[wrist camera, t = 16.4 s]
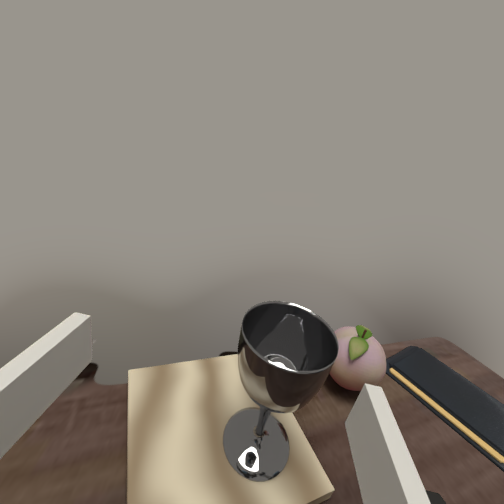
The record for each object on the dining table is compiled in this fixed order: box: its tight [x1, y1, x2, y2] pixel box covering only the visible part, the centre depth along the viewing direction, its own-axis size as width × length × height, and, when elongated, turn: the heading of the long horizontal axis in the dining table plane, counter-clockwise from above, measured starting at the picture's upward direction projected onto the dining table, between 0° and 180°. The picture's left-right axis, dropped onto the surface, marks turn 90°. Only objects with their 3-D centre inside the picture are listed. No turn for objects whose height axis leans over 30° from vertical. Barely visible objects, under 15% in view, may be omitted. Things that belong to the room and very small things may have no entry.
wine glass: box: [223, 301, 339, 482], centre depth 24 cm, size 8×8×15 cm
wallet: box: [386, 346, 504, 472], centre depth 42 cm, size 20×2×15 cm
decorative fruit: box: [330, 325, 386, 391], centre depth 38 cm, size 9×8×10 cm
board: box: [127, 354, 334, 504], centre depth 28 cm, size 18×18×2 cm
